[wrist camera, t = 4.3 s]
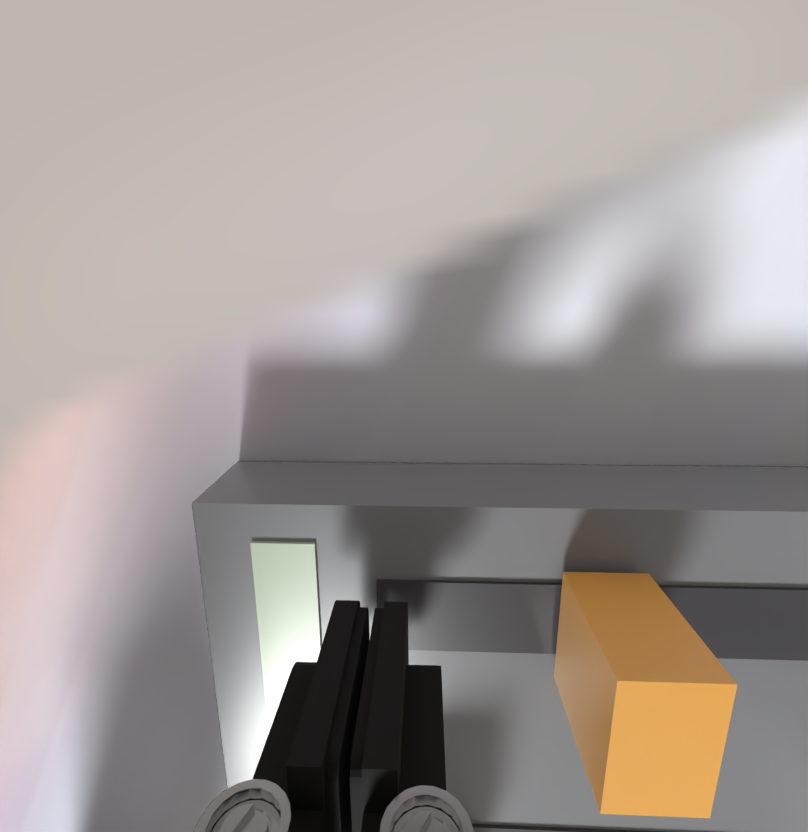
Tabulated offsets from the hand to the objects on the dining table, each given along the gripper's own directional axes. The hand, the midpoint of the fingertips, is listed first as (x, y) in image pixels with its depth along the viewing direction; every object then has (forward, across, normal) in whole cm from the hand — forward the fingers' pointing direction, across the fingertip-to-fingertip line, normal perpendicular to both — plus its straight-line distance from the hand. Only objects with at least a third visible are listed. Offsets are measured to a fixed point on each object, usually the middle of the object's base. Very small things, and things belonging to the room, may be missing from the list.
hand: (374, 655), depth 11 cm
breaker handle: (+1, -5, 0) cm, 6 cm away
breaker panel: (+4, -5, +4) cm, 8 cm away
